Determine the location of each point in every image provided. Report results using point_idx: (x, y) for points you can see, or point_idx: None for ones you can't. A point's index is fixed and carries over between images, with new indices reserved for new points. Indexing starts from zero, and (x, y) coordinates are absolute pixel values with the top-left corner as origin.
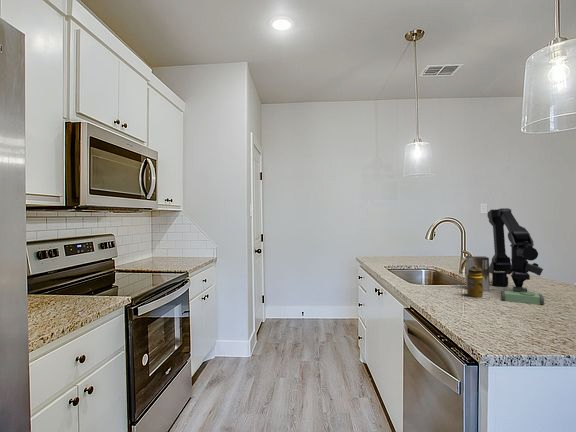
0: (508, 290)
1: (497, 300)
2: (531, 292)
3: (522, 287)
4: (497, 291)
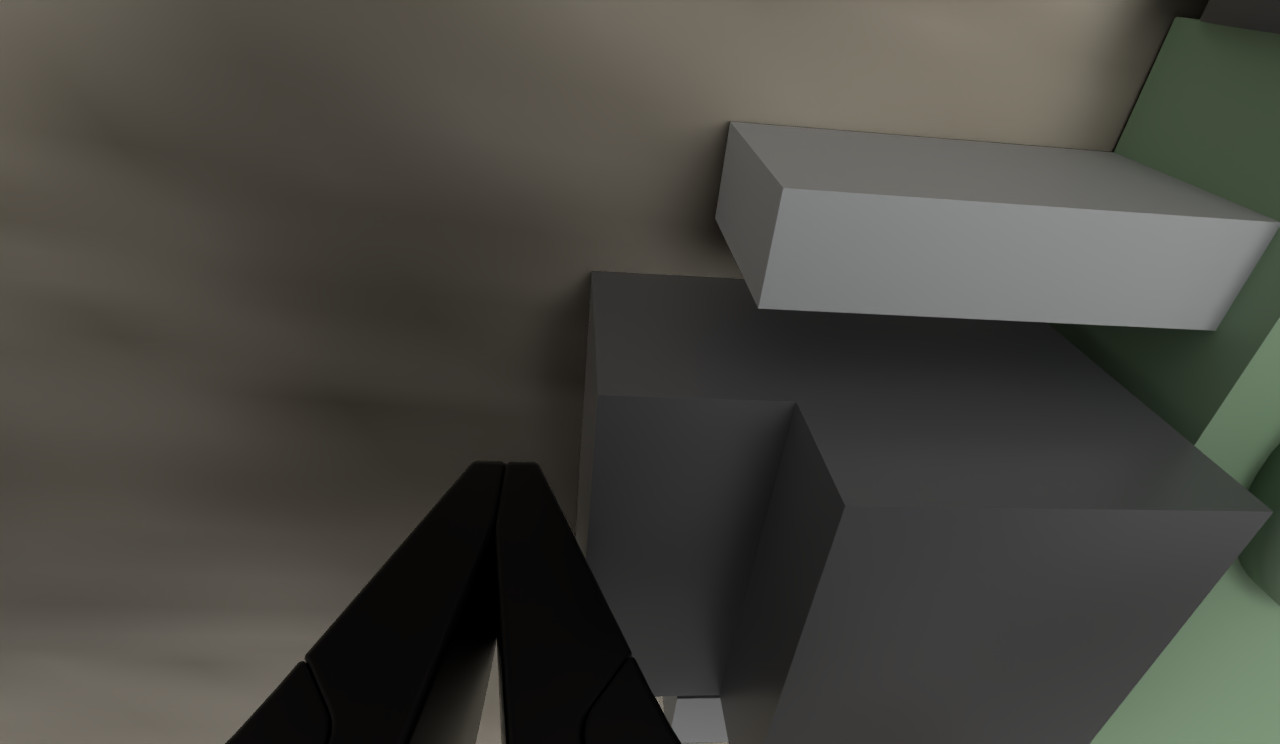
0: None
1: None
2: (882, 221)
3: (867, 619)
4: None
